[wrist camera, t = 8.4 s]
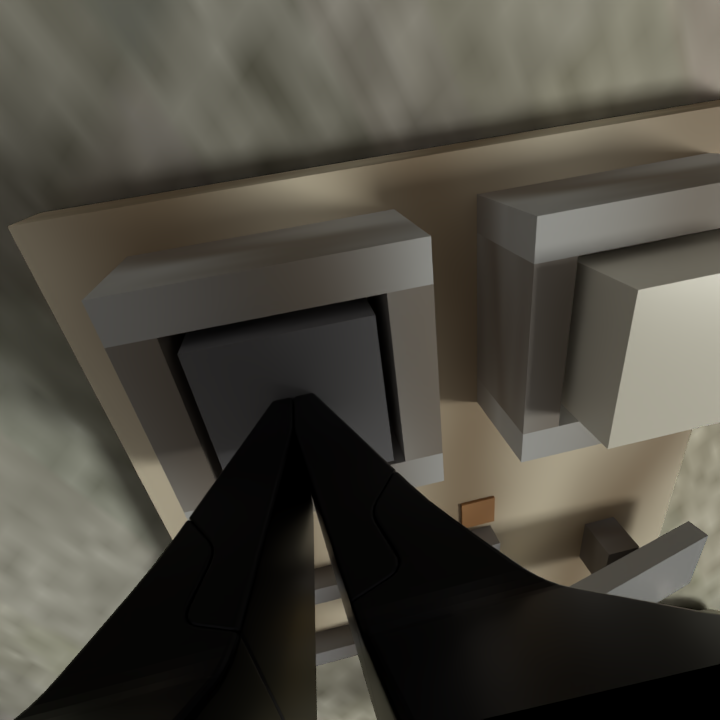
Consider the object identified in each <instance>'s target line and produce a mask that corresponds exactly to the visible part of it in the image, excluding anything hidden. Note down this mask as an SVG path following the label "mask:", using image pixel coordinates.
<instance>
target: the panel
mask: <svg viewBox="0 0 720 720" xmlns="http://www.w3.org/2000/svg"><path fill="white" fill-rule="evenodd" d="M7 227H8V229H9V231H10V233H11V235H12V237H13V239H14V241H15V242H16V244H17V246H18V248H19V250H20V252H21V254H22V256H23V258H24V260H25V261H26V263H27V265H28V267H29V269H30V271H31V273H32V275H33V277H34V278H35V280H36V282H37V284H38V286H39V288H40V290H41V292H42V294H43V296H44V297H45V299H46V301H47V303H48V305H49V307H50V309H51V311H52V313H53V314H54V316H55V318H56V320H57V322H58V324H59V326H60V328H61V330H62V332H63V333H64V335H65V337H66V339H67V341H68V343H69V345H70V347H71V349H72V351H73V352H74V354H75V356H76V358H77V360H78V362H79V364H80V366H81V368H82V369H83V371H84V373H85V375H86V377H87V379H88V381H89V383H90V385H91V387H92V388H93V390H94V392H95V394H96V396H97V398H98V400H99V402H100V404H101V405H102V407H103V409H104V411H105V413H106V415H107V417H108V419H109V421H110V423H111V424H112V426H113V428H114V430H115V432H116V434H117V436H118V438H119V440H120V442H121V443H122V445H123V447H124V449H125V451H126V453H127V455H128V457H129V459H130V460H131V462H132V464H133V466H134V468H135V470H136V472H137V474H138V476H139V478H140V479H141V481H142V483H143V485H144V487H145V489H146V491H147V493H148V495H149V496H150V498H151V500H152V502H153V504H154V506H155V508H156V510H157V512H158V514H159V515H160V517H161V519H162V521H163V523H164V525H165V527H166V529H167V531H168V533H169V534H170V536H171V538H172V540H173V539H174V538H175V536H176V535H177V533H178V532H179V531H180V529H181V528H182V526H183V525H184V524H185V522H186V521H187V520H189V517H190V516H191V514H192V513H193V511H194V510H195V509H196V507H197V506H198V504H199V503H200V502H201V500H202V499H203V497H204V496H205V495H206V493H207V492H208V490H209V489H210V488H211V486H212V485H213V483H214V482H215V481H216V479H217V478H218V476H219V475H220V474H221V472H222V471H223V469H222V467H221V464H220V462H219V459H218V456H217V454H216V451H215V449H214V446H213V444H212V441H211V439H210V436H209V434H208V431H207V428H206V426H205V423H204V421H203V418H202V416H201V413H200V411H199V408H198V406H197V403H196V400H195V398H194V395H193V393H192V390H191V388H190V385H189V383H188V380H187V378H186V375H185V373H184V370H183V367H182V365H181V362H180V360H179V357H178V355H177V354H178V352H179V349H180V347H181V344H182V342H183V339H184V337H185V334H186V332H190V331H195V330H200V329H205V328H210V327H215V326H221V325H226V324H231V323H236V322H241V321H246V320H251V319H257V318H262V317H267V316H272V315H277V314H282V313H287V312H292V311H298V310H303V309H308V308H313V307H318V306H323V305H328V304H333V303H339V302H344V301H349V300H354V299H359V298H364V297H366V299H367V301H368V302H369V304H370V306H371V308H372V310H373V312H374V314H375V317H376V325H377V333H378V340H379V348H380V356H381V364H382V372H383V380H384V387H385V395H386V403H387V411H388V419H389V426H390V434H391V442H392V450H393V458H394V461H390V462H388V463H389V464H390V465H391V466H392V467H393V468H394V469H395V470H396V472H398V473H400V474H401V475H402V476H403V477H404V478H405V479H406V480H407V481H408V482H409V483H410V484H411V485H412V486H414V487H415V488H416V489H417V490H418V491H419V492H420V493H422V494H423V495H424V496H425V497H426V498H427V499H428V500H430V501H431V502H432V503H434V504H435V505H436V506H438V507H439V508H440V509H442V510H443V511H444V512H446V513H447V514H448V515H450V516H451V517H452V518H454V519H455V520H457V521H458V522H459V523H461V524H462V525H464V526H465V527H466V528H468V529H469V530H471V531H472V532H473V533H475V534H476V535H478V536H479V537H481V538H482V539H483V540H485V541H486V542H488V543H489V544H490V545H492V546H493V547H495V548H496V549H497V550H499V551H500V552H502V553H503V554H504V555H506V556H507V557H509V558H510V559H512V560H513V561H514V562H516V563H517V564H519V565H520V566H522V567H523V568H525V569H527V570H529V571H530V572H532V573H534V574H536V575H538V576H540V577H542V578H544V579H546V580H549V581H551V582H554V583H557V584H560V585H564V586H571V585H573V584H575V583H577V582H578V581H580V580H582V579H584V578H586V577H587V576H589V575H591V574H593V573H595V572H597V571H598V570H600V569H602V568H604V567H606V566H608V565H609V564H611V563H613V562H615V561H617V560H619V559H620V558H622V557H624V556H626V555H628V554H630V553H631V552H633V551H635V550H637V549H639V548H641V547H642V546H644V545H646V544H648V543H650V542H652V541H653V540H655V539H657V538H659V535H660V532H661V529H662V525H663V522H664V519H665V516H666V513H667V509H668V506H669V503H670V500H671V496H672V493H673V490H674V487H675V483H676V480H677V477H678V474H679V471H680V467H681V464H682V461H683V458H684V454H685V451H686V448H687V445H688V442H689V438H690V435H691V432H692V429H690V430H686V431H682V432H678V433H674V434H669V435H665V436H661V437H657V438H653V439H648V440H644V441H640V442H636V443H632V444H627V445H623V446H619V447H615V448H611V449H607V448H606V447H605V446H604V445H603V444H602V443H601V442H600V441H599V440H598V439H597V438H596V437H595V436H594V435H593V434H592V433H591V432H590V431H589V430H587V429H586V428H585V427H584V426H583V425H582V424H581V423H580V422H579V421H578V420H577V419H576V418H575V417H574V416H573V415H572V414H571V413H570V412H569V411H568V410H567V409H566V408H565V407H564V406H563V405H562V404H561V400H562V391H563V382H564V374H565V365H566V356H567V348H568V339H569V330H570V322H571V313H572V304H573V296H574V287H575V278H576V270H577V261H578V256H584V255H589V254H594V253H599V252H604V251H609V250H614V249H619V248H625V247H630V246H635V245H640V244H645V243H650V242H655V241H660V240H665V239H671V238H676V237H681V236H686V235H691V234H696V233H701V232H706V231H712V230H717V229H720V100H714V101H708V102H702V103H696V104H690V105H684V106H678V107H672V108H666V109H660V110H654V111H648V112H642V113H636V114H630V115H624V116H618V117H612V118H606V119H600V120H594V121H588V122H582V123H576V124H570V125H564V126H558V127H552V128H546V129H540V130H534V131H528V132H522V133H516V134H510V135H504V136H498V137H492V138H486V139H480V140H474V141H468V142H462V143H456V144H450V145H444V146H438V147H432V148H426V149H420V150H414V151H408V152H402V153H396V154H390V155H384V156H378V157H372V158H366V159H360V160H354V161H348V162H342V163H336V164H330V165H324V166H318V167H312V168H306V169H300V170H294V171H288V172H282V173H276V174H270V175H264V176H258V177H252V178H246V179H240V180H234V181H228V182H222V183H216V184H210V185H204V186H198V187H192V188H186V189H180V190H174V191H168V192H162V193H156V194H150V195H144V196H138V197H132V198H126V199H120V200H114V201H108V202H102V203H96V204H90V205H84V206H78V207H72V208H66V209H60V210H54V211H48V212H42V213H39V214H36V215H34V216H31V217H29V218H26V219H24V220H22V221H19V222H17V223H14V224H12V225H9V226H7ZM312 500H313V499H312ZM313 515H314V574H315V636H316V666H318V665H322V664H326V663H329V662H333V661H337V660H341V659H344V658H348V657H352V656H356V655H358V653H357V650H356V646H355V643H354V640H353V636H352V633H351V629H350V626H349V623H348V619H347V616H346V612H345V609H344V606H343V602H342V599H341V595H340V592H339V589H338V585H337V582H336V578H335V575H334V572H333V568H332V565H331V561H330V558H329V555H328V551H327V548H326V544H325V541H324V538H323V534H322V531H321V527H320V524H319V521H318V517H317V514H316V510H315V506H314V502H313Z"/></svg>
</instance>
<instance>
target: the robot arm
mask: <svg viewBox="0 0 720 720" xmlns="http://www.w3.org/2000/svg"><path fill="white" fill-rule="evenodd" d="M312 499H313V500H312ZM313 502H314V506H315V510H316V514H317V517H318V521H319V524H320V527H321V531H322V534H323V538H324V541H325V544H326V548H327V551H328V555H329V558H330V561H331V565H332V568H333V572H334V575H335V578H336V582H337V585H338V589H339V592H340V595H341V599H342V602H343V606H344V609H345V612H346V616H347V619H348V623H349V626H350V629H351V633H352V636H353V640H354V643H355V646H356V650H357V653H358V657H359V660H360V663H361V667H362V670H363V674H364V677H365V680H366V684H367V687H368V691H369V694H370V697H371V701H372V704H373V708H374V711H375V714H376V718H377V720H720V614H716V613H709V612H703V611H698V610H693V609H687V608H682V607H676V606H671V605H666V604H660V603H655V602H650V601H644V600H639V599H633V598H628V597H623V596H617V595H612V594H606V593H601V592H596V591H590V590H585V589H580V588H574V587H569V586H564V585H560V584H557V583H554V582H551V581H549V580H546V579H544V578H542V577H540V576H538V575H536V574H534V573H532V572H530V571H529V570H527V569H525V568H523V567H522V566H520V565H519V564H517V563H516V562H514V561H513V560H512V559H510V558H509V557H507V556H506V555H504V554H503V553H502V552H500V551H499V550H497V549H496V548H495V547H493V546H492V545H490V544H489V543H488V542H486V541H485V540H483V539H482V538H481V537H479V536H478V535H476V534H475V533H473V532H472V531H471V530H469V529H468V528H466V527H465V526H464V525H462V524H461V523H459V522H458V521H457V520H455V519H454V518H452V517H451V516H450V515H448V514H447V513H446V512H444V511H443V510H442V509H440V508H439V507H438V506H436V505H435V504H434V503H432V502H431V501H430V500H428V499H427V498H426V497H425V496H424V495H423V494H422V493H420V492H419V491H418V490H417V489H416V488H415V487H414V486H412V485H411V484H410V483H409V482H408V481H407V480H406V479H405V478H404V477H403V476H402V475H401V474H400V473H398V472H396V470H395V469H394V468H393V467H392V466H391V465H390V464H389V463H388V462H387V461H386V460H384V459H383V458H382V457H381V456H380V455H379V454H378V453H377V452H376V451H375V450H374V449H373V448H372V447H371V446H370V445H369V444H368V443H366V442H365V441H364V440H363V439H362V438H361V437H360V436H359V435H358V434H357V433H356V432H355V431H354V430H353V429H352V428H351V427H349V426H348V425H347V424H346V423H345V422H344V421H343V420H342V419H341V418H340V417H339V416H338V415H337V414H336V413H335V412H334V411H333V410H331V409H330V408H329V407H328V406H327V405H326V404H325V403H324V402H323V401H322V400H321V399H320V398H319V397H318V396H317V395H316V394H314V393H308V394H303V395H299V396H296V397H295V398H294V400H293V399H292V398H285V399H280V400H275V401H273V402H272V403H271V404H270V405H269V407H268V408H267V410H266V411H265V412H264V414H263V415H262V417H261V418H260V419H259V421H258V422H257V424H256V425H255V426H254V428H253V429H252V430H251V432H250V433H249V435H248V436H247V437H246V439H245V440H244V442H243V443H242V444H241V446H240V447H239V449H238V450H237V451H236V453H235V454H234V456H233V457H232V458H231V460H230V461H229V463H228V464H227V465H226V467H225V468H224V470H223V471H222V472H221V474H220V475H219V476H218V478H217V479H216V481H215V482H214V483H213V485H212V486H211V488H210V489H209V490H208V492H207V493H206V495H205V496H204V497H203V499H202V500H201V502H200V503H199V504H198V506H197V507H196V509H195V510H194V511H193V513H192V514H191V516H190V517H189V520H187V521H186V522H185V524H184V525H183V526H182V528H181V529H180V531H179V532H178V533H177V535H176V536H175V538H174V539H173V540H172V542H171V543H170V544H169V545H168V547H167V548H166V549H165V551H164V552H163V553H162V555H161V556H160V557H159V559H158V560H157V561H156V563H155V564H154V565H153V566H152V568H151V569H150V570H149V571H148V572H147V574H146V575H145V576H144V577H143V579H142V580H141V581H140V582H139V583H138V585H137V586H136V587H135V588H134V589H133V591H132V592H131V593H130V594H129V595H128V597H127V598H126V599H125V600H124V601H123V602H122V604H121V605H120V606H119V607H118V608H117V609H116V610H115V612H114V613H113V614H112V615H111V616H110V617H109V619H108V620H107V621H106V622H105V623H104V624H103V626H102V627H101V628H100V629H99V630H98V631H97V633H96V634H95V635H94V636H93V637H92V638H91V639H90V641H89V642H88V643H87V644H86V645H85V646H84V648H83V649H82V650H81V651H80V652H79V653H78V655H77V656H76V657H75V658H74V659H73V660H72V662H71V663H70V664H69V665H68V666H67V667H66V668H65V670H64V671H63V672H62V673H61V674H60V675H59V677H58V678H57V679H56V680H55V681H54V682H53V683H52V684H51V685H50V686H49V688H48V689H47V690H46V691H45V692H44V693H43V694H42V695H41V696H40V697H39V698H38V699H37V700H36V701H35V702H34V703H32V704H31V705H30V706H29V707H28V708H27V709H26V710H25V711H24V712H22V713H21V714H20V715H19V716H18V717H16V718H15V719H14V720H317V697H316V636H315V574H314V515H313Z"/></svg>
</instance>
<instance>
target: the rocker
mask: <svg viewBox="0 0 720 720" xmlns="http://www.w3.org/2000/svg"><path fill="white" fill-rule="evenodd" d="M707 537H708V535H707V534H705V533H704V532H703V531H701V530H700V529H699V528H697V527H696V526H694V525H693V524H692V523H690V522H689V521H688V522H686V523H684V524H683V525H681V526H679V527H677V528H675V529H673V530H672V531H670V532H668V533H666V534H664V535H662V536H661V537H659V538H657V539H655V540H653V541H652V542H650V543H648V544H646V545H644V546H642V547H641V548H639V549H637V550H635V551H633V552H631V553H630V554H628V555H626V556H624V557H622V558H620V559H619V560H617V561H615V562H613V563H611V564H609V565H608V566H606V567H604V568H602V569H600V570H598V571H597V572H595V573H593V574H591V575H589V576H587V577H586V578H584V579H582V580H580V581H578V582H577V583H575V584H573V585H571V586H569V587H574V588H580V589H585V590H590V591H596V592H601V593H606V594H612V595H617V596H623V597H628V598H633V599H639V600H644V601H650V602H655V603H657V602H659V601H661V600H662V599H664V598H666V597H667V596H669V595H671V594H672V593H674V592H676V591H677V590H679V589H681V588H682V587H684V586H686V585H687V584H689V583H690V580H691V578H692V575H693V573H694V570H695V568H696V565H697V563H698V560H699V558H700V555H701V552H702V550H703V547H704V545H705V542H706V540H707Z"/></svg>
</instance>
